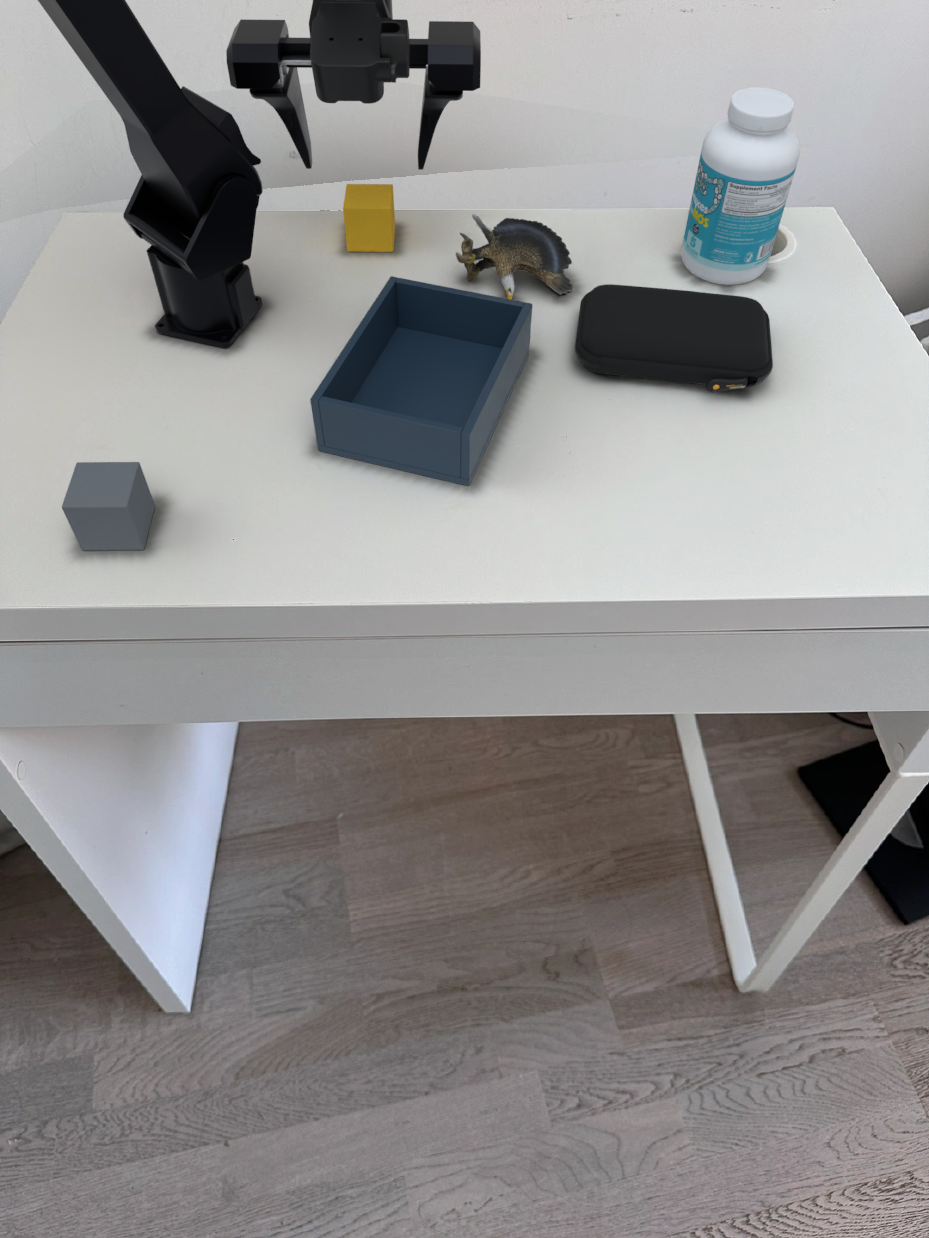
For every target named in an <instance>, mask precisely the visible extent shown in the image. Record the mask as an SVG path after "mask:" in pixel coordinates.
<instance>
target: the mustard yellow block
mask: <svg viewBox="0 0 929 1238" xmlns="http://www.w3.org/2000/svg"><path fill="white" fill-rule="evenodd" d="M343 200H344V201H343V205H342V206H343V207H342V212H343V214H342V215H343V222H344V223H343V225H344V232H345V243H346V251H347V252H353V253H354V252H355V253H356V252H357V253H361V252H363V253H365V252H366V253H373V252H374V253H393V252H394V247H395V235H396V215H395V200H394V185H393V184H392V183H385V184H384V183H346V186H345V193H344V199H343Z"/></svg>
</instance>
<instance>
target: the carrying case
mask: <svg viewBox="0 0 929 1238" xmlns="http://www.w3.org/2000/svg"><path fill="white" fill-rule="evenodd" d="M575 334H576V335H575V343H574V353H575V356H576V358H577V359H578V361H579V362H580V363H581V364H582V365H583V366H584V367H585V368H586V369H587V370H588V371H591V372H594V373H598V374H600V375H611V376H620V377H628V378H637V379H647V380H656V381H665V382H676V383H684V384H685V383H686V384H695V385H705V386H706V389H707V391H708V392H712V393H717V392H723V391H731V390H745V389H746V388H750V387H753V386H755V385H757V384H760V383H762V382H763V381H765V380H766V379H767V378H768V377H769V376H770V374H771V373H772V371H773V368H774V360H773V348H772V335H771V324H770V317H769V314H768V312H767V311H766V310H765V309H764V307H763V305H762V304H761V303H760V302H759V301H758V300H757V299H754V298H752V297H748V296H741V295H734V294H733V295H732V294H722V293H712V292H703V291H702V292H701V291H694V290H693V291H692V290H682V289H671V288H670V289H669V288H661V287H647V286H637V285H636V286H635V285H625V284H612V283H611V284H610V283H607V284H600V285H597V286H595V287H594V288H593V289H591V290H590V291H588V292H587V293H585V295H584V296H583V297H582V299H581V300H580V305H579V312H578V319H577V327H576V333H575Z"/></svg>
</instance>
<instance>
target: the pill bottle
mask: <svg viewBox="0 0 929 1238" xmlns="http://www.w3.org/2000/svg"><path fill="white" fill-rule="evenodd" d="M794 107H795V103H794V100H793V99H792V97H791V96H789V95H788V94H787V93H785V92H783V91H781V90H778V89H773V88H771V87H763V86H751V87H745V88H741V89H738V90H737V91H736V92H733V94H732V96H731V98H730V100H729V105H728V109H727V118H724V119H722V120H720V121H718V122H717V123H715V124H714V125H713V126H712V127H710V129H709V130H708V131H707V132H706V134H705V136H704V139H703V141H702V146H701V150H700V155H699V159H698V165H697V170H696V175H695V180H694V186H693V189H692V195H691V199H690V204H689V210H688V213H687V220H686V224H685V229H684V234H683V238H682V244H681V249H680V250H681V251H680V255H681V260H682V263H683V265H684V266H685V268H686V269H687V270H688V271H689V272H690V273H691V274H693V275H694V276H696V278H697V277H698V278H699V279H701V280H704V281H706V282H708V283H709V282H710V283H713V284H717V285H726V286H727V285H728V286H730V285H732V286H733V285H740V284H745V283H749V282H751V281H754V280H756V279H757V278H759V277H760V276H761V275H762V274H763V273H764V272H765V270H766V269H767V267H768V265H769V262H770V258H771V255H772V252H773V248H774V245H775V241H776V238H777V234H778V231H779V228H780V224H781V221H782V218H783V214H784V211H785V207H786V204H787V200H788V196H789V194H790V190H791V187H792V186H791V185H792V183H793V181H794V177H795V173H796V170H797V166H798V162H799V159H800V155H801V147H800V145H801V144H800V142H799V139H798V137H797V135H796V133H795V132H794V131H793V130H792V128H790V127H789V125H790V123H791V121H792V117H793V112H794V109H795V108H794Z"/></svg>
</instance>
